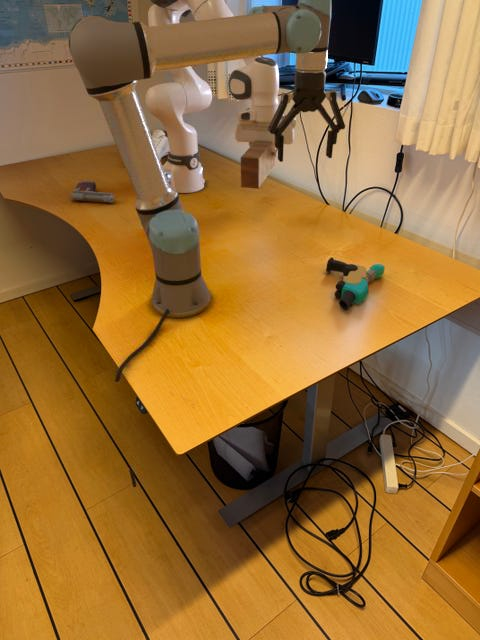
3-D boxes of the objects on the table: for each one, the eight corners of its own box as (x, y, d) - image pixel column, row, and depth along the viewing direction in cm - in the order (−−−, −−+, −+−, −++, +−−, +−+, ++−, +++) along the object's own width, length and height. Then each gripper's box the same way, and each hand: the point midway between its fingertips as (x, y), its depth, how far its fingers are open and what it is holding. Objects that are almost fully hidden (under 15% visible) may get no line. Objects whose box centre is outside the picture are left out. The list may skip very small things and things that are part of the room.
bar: (258, 188, 151) (258, 158, 146) (241, 187, 153) (240, 157, 147) (274, 165, 171) (275, 137, 165) (259, 164, 172) (259, 136, 166)
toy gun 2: (304, 289, 121) (361, 305, 115) (336, 248, 139) (387, 259, 134) (302, 304, 124) (359, 320, 118) (334, 262, 142) (384, 273, 136)
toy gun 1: (126, 191, 190) (111, 206, 179) (83, 188, 193) (65, 202, 182) (125, 182, 188) (109, 196, 176) (81, 179, 191) (63, 193, 179)
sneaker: (130, 167, 214) (125, 139, 207) (157, 149, 236) (154, 123, 229) (151, 169, 212) (147, 141, 204) (176, 150, 234) (174, 125, 226)
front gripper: (353, 66, 120) (343, 151, 133) (257, 70, 117) (256, 157, 129) (365, 70, 114) (353, 159, 127) (264, 75, 111) (262, 166, 123)
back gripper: (297, 112, 158) (295, 154, 166) (238, 110, 163) (239, 151, 171) (294, 116, 153) (292, 160, 161) (233, 114, 158) (234, 156, 166)
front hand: (304, 158), depth 128 cm, fingers open, 13 cm apart
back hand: (264, 155), depth 166 cm, fingers closed on bar, 6 cm apart
